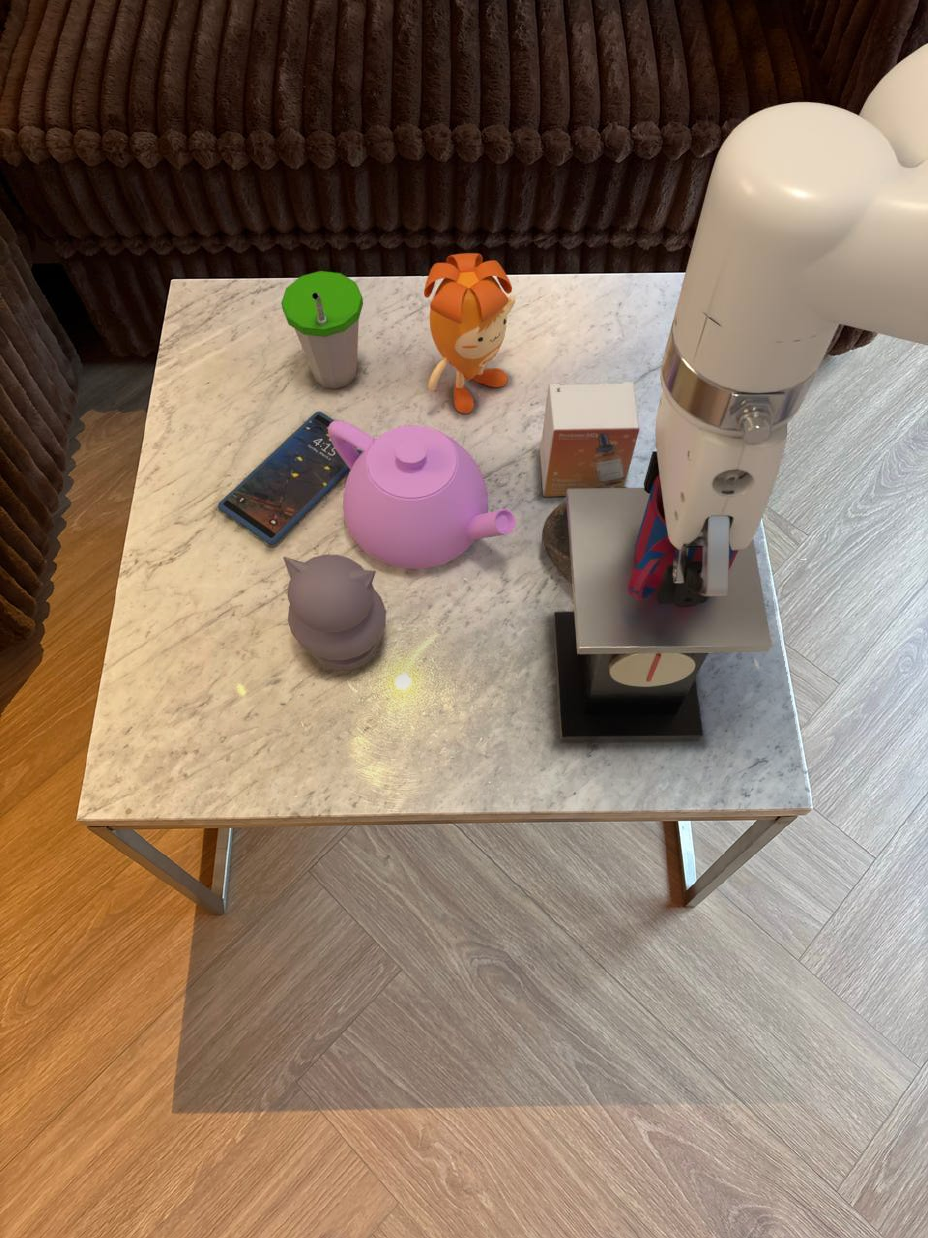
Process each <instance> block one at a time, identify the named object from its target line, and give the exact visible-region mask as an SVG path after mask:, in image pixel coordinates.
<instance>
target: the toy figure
mask: <svg viewBox="0 0 928 1238" xmlns="http://www.w3.org/2000/svg"><path fill="white" fill-rule="evenodd" d="M483 259H484V258H483V255H482V254H481V253H478V252H476V253H475V252H467V253H456V254H451V255H449V256H447V257H446V259H445V262H436V263H434V264H433V265H432V267H431V268H430V271H429V274H428V276H427V278H426V282H425V285H424V288H423V296H424V297H425V298H427V299H428V298H430V297H431V295H432V293H433V290H434V288H435V285H436V282H437V281H439V280H442V281H441V282H440V283H439V285H438V287H437V289H436V290H435V292H434V295H433V297H432V300H431V301H430V304H429V308H430V310H429V327H430V333H431V337H432V340H433V343H434V345H435V347H436V349H437V351H438V353H439V355H441V357H442V358H441V360H440V361H439V362H438V363H437V365H436V366H435V367H434V369H433V371H432V373H431V375H430V377H429V379H428V385H427V388H428V390H429V391H434V390H436V389H437V385H438V381H439V379H440V377H441V374H442V373H443V371H444V370H445V368H446V367H447V366H448V364H449V365H450V366H452V367H453V368H454V369H455V370H456V377H455V384H454V387H453V403H454V407H455V409H456V410H457V412H459V413H460V414H465V415H466V414H469V413H471V412H472V411H473V410H474V407H475V402H474V399H473V397H472V395H471V394H470V392H469V391H468V390H467V388H466V386H465V380H466V381H472V380H473V381H474V382H476V383H478V384H481V385H485V386H488V387H491V388H502V387H504V386H505V385H507V383H508V381H509V378H508V377H509V376H508V375H507V373H506V372H505V370H503V369H502V368H495V367H494V368H493V367H492V368H488V369H484V367H485V366H486V365H487V364H488V363H490V362H491V361H492V360H493V358H495V357H496V355H497V354H498V353H499V350H500V348H501V347H502V344H503V342H504V339H505V336H506V330H507V326H508V325H507V324H508V315H509V314H510V313H511V311H512V309H513V308H514V306H515V303H516V300H517V299H516V297H515V296H513V295H509V294H511V293H512V291H513V286H512V283H511V281H510V279H509V277H508V276H507V273H506V271H505V270H504V269H503V266H502V265H501V264H500V263H499V262H498V261H497V260H493V259H492V260H491V259H490V260H486V261H483ZM494 277H496V279H497V280H496V279H495V278H494ZM502 289H503V290H502ZM506 294H508V295H509V296H507V295H506Z"/></svg>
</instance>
